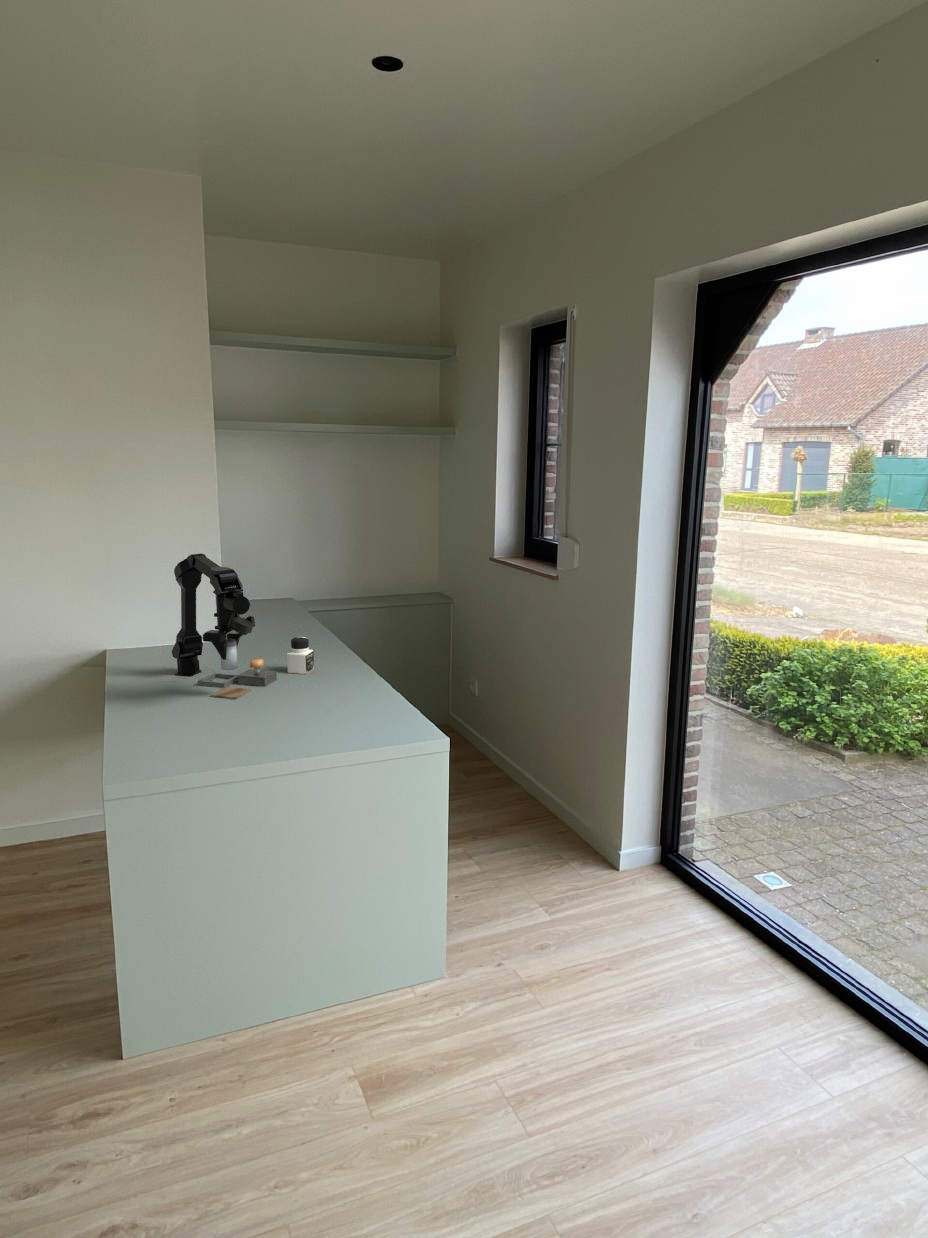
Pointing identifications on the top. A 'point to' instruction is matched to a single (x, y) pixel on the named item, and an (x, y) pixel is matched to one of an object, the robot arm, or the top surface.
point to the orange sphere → (256, 665)
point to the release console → (257, 677)
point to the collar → (207, 682)
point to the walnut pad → (230, 693)
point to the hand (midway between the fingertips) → (228, 657)
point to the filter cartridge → (230, 656)
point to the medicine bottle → (300, 656)
